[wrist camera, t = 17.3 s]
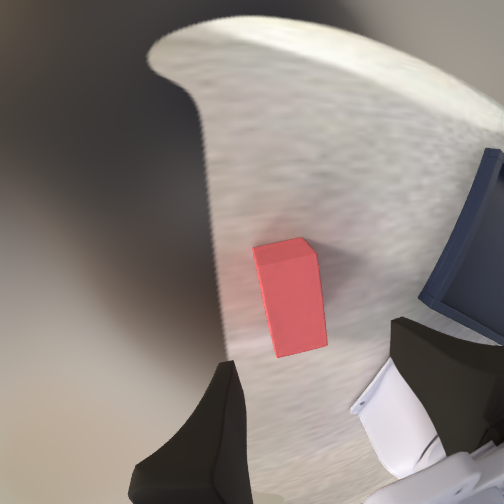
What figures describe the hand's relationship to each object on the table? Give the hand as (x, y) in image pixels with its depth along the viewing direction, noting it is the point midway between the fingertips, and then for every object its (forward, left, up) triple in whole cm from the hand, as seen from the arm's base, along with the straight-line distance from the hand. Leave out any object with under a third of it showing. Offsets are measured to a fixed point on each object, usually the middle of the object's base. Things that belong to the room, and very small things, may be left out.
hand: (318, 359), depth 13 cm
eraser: (0, 0, -8) cm, 8 cm away
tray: (+10, -20, -8) cm, 24 cm away
